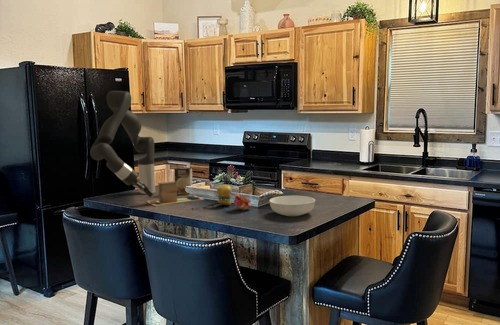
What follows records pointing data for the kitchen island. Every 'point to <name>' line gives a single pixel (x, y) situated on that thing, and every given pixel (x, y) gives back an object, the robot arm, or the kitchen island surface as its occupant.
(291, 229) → the kitchen island surface
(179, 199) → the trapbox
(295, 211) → the serving bowl
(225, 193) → the hamburger
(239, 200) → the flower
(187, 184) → the coffee box
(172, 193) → the block
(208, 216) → the kitchen island surface
